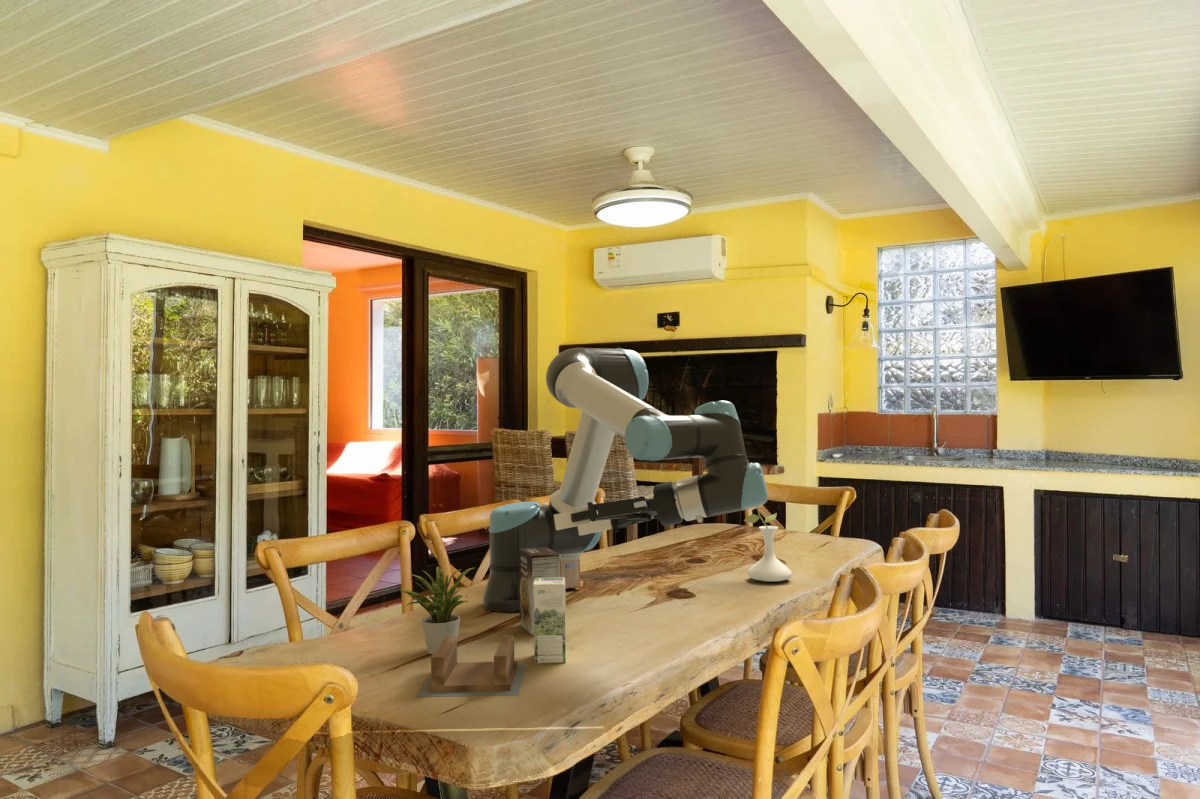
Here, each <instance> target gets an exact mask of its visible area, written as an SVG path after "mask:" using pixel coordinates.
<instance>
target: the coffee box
mask: <svg viewBox="0 0 1200 799" xmlns="http://www.w3.org/2000/svg"><path fill="white" fill-rule="evenodd" d="M554 577H560V570H559V553H557V552H555V551H553V550H551V549H549V548H547V547H540V548H538V547H533V548H520V549H519V581H520V612H519V615H520V616H519V617H520V619H519V620H520V621H519V623H520V626H521V625H522V626H521V627H523V629H525V630H526V632H528V633H529V634H530V635H531V636H534V597H533V584H534V579H535V578H554Z"/></svg>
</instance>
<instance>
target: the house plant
mask: <svg viewBox="0 0 1200 799" xmlns="http://www.w3.org/2000/svg"><path fill="white" fill-rule="evenodd" d="M475 568H477V567H471V568H467V569H465V570H463V569H462V568H461V569H458V570H456V571H454V572H453V573H452V575H451V576H450V577H449V573H446V574H445V575H444V570H443V567H441V566H440V567H439V566H436V572H435V573H436V574H435V576H436V577H435V580H434V578H433V577H432V576H431V575H430V574H428V572H426V571H425V570H423V573H424V574H426V575H427V576H428V577H429V579H430V581H431V584H430V582H428V581H427V580H426V579H425V578H424V577H422V576H420V575H416V574H412V573H409V575H410V576H413V577H416V580H418V581H420V582H421V583H422V584H423V586H424V587H425V588H426V589H425V588H424V587H423V586H422V585H421V584H419V583H418V582H416V584H417V585H418V586H420V587H421V588H422V589H423V590H424V591H425V592H426V593H427V595H428V597H427V596H425V595H422V594H420V593H418V592H415V591H412V590H408V589H399V591H400V592H402V593H405V594H407V596H409V598H413V599H415V600H416V601H410V602H409V603H407V604H406V605H405V607H404V608H406V607H408V606H410V605H412V604H413V605H414V604H419V605H420V606H421V607H423V609H425V611H426V612H427V613H429V614H430V615H428V616H425V617H423V618H422V619H421V624H422V629H423V635H424V640H425V646H426V652H427V653H428V654H430V655H433V654H434V652H435V651H436V649H437V648H438V647H439V645H440V644H441V642H442V641H443V639H444V638H445V637H457V638H458V636H459V635H458V634H459V631H460V630H459V629H460V622H461V617H460V616H459V615H458V614H452V613H453V611H454V610H455V608H456V607H458V606H460V605H461V604H463V603H467V604H468V600H462V599H461V598H464V597H466V598H467V599H469V596H467V595H463V594H462V595H460V594H458V595H456V594H457V593H458V592H459V590H460V589H461V587H462V586H463V584H464V583H466V581H467V580H468V579H469V578H470V576H468V577H467V578H466V579H465V580H464V581H463V582H462V583H461V585H460V586H459V587H458V585H459V584H460V582H461V581H462V579H463V578H464V576H465V575H466V574H467V573H468V572H470V571H471V570H473V569H475ZM462 570H463V571H462ZM459 571H462V573H460V575H458V576H457V578H456V579H455V581H454V583H453V585H452V586H451V587H450V589H449V590H448V588H449V586H450V582H451V581H452V578H453V577H454V575H455V574H456V573H457V572H459ZM444 576H445V577H444ZM417 578H418V579H417ZM407 580H410V581H412V582H413V580H412V579H408V578H407ZM457 587H458V588H457ZM430 591H431V592H430ZM431 593H432V594H433V595H432V594H431ZM460 599H461V600H460Z"/></svg>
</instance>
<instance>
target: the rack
mask: <svg viewBox="0 0 1200 799" xmlns="http://www.w3.org/2000/svg"><path fill="white" fill-rule="evenodd" d="M457 646H458V637H445V638H444V639H443V641H442V642H441V644H440V645H439V647H438V648H437V649H436V651H435V652H434V654H431V657H430V674H431V682H430V684H429V686H428V692H474V691H510V689H511V686H512V683H513V680H514V677H515V673H516V670H517V664H518V661H515V635H502V637H501V639H500V641H499V643H498V646H497V647H496V651H494V652H495V653H494V654H493V661H480V662H479V661H475V662H473V661H472V662H470V661H469V662H466V661H465V662H458V647H457Z"/></svg>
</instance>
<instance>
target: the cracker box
mask: <svg viewBox="0 0 1200 799" xmlns="http://www.w3.org/2000/svg"><path fill="white" fill-rule="evenodd" d="M548 505H549V502H542V503H541V505H540V507H544V506H548ZM559 570H560V577H565V590H570V589H569V588H572V589H578V588H579V589H580V588H582V585H581V578H582V577H581V552H580V553H569V554H559Z"/></svg>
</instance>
